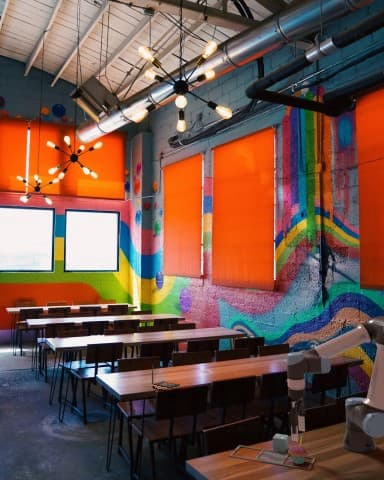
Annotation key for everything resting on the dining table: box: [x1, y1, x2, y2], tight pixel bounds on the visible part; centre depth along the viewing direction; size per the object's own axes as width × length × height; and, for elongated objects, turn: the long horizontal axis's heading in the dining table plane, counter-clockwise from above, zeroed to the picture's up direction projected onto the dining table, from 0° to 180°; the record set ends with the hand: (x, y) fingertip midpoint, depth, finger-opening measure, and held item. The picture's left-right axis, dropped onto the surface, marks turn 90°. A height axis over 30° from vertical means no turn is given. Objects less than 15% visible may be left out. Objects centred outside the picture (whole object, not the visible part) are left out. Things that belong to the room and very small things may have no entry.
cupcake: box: [287, 435, 309, 465], centre depth 210 cm, size 9×8×12 cm
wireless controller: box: [151, 364, 181, 388], centre depth 342 cm, size 20×14×17 cm
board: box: [228, 444, 317, 471], centre depth 215 cm, size 14×37×1 cm, turn 64°
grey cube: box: [272, 433, 290, 453], centre depth 225 cm, size 6×6×6 cm
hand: (298, 435), depth 210 cm, fingers open, 13 cm apart
